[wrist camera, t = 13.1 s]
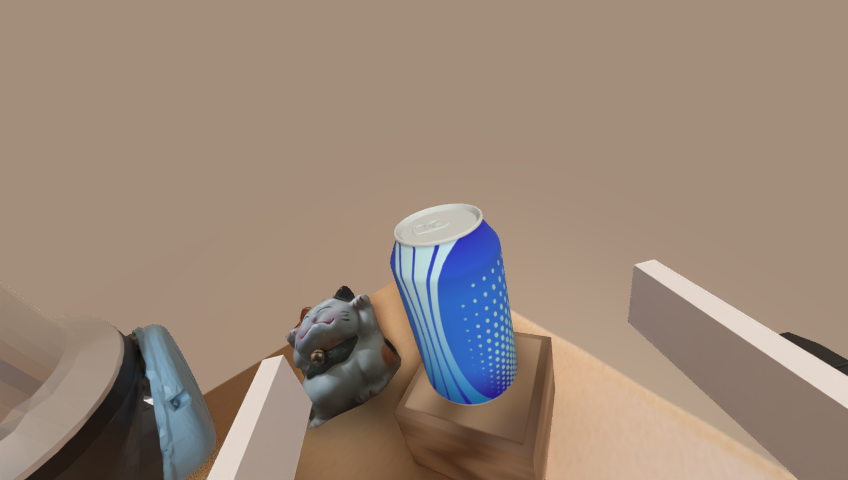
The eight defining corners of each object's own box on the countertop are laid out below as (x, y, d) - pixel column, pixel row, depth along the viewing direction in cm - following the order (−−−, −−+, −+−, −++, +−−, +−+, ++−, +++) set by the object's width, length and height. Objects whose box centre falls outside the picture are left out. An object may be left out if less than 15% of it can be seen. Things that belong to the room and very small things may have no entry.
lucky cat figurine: (284, 441, 36) (237, 335, 37) (338, 386, 48) (301, 306, 48) (388, 407, 32) (333, 288, 33) (420, 355, 44) (378, 268, 44)
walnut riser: (415, 462, 31) (392, 411, 27) (456, 367, 40) (443, 319, 36) (540, 515, 25) (532, 458, 21) (554, 389, 34) (550, 335, 30)
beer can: (454, 331, 34) (419, 200, 27) (530, 351, 29) (511, 197, 23) (414, 394, 28) (357, 246, 21) (501, 431, 23) (464, 255, 17)
